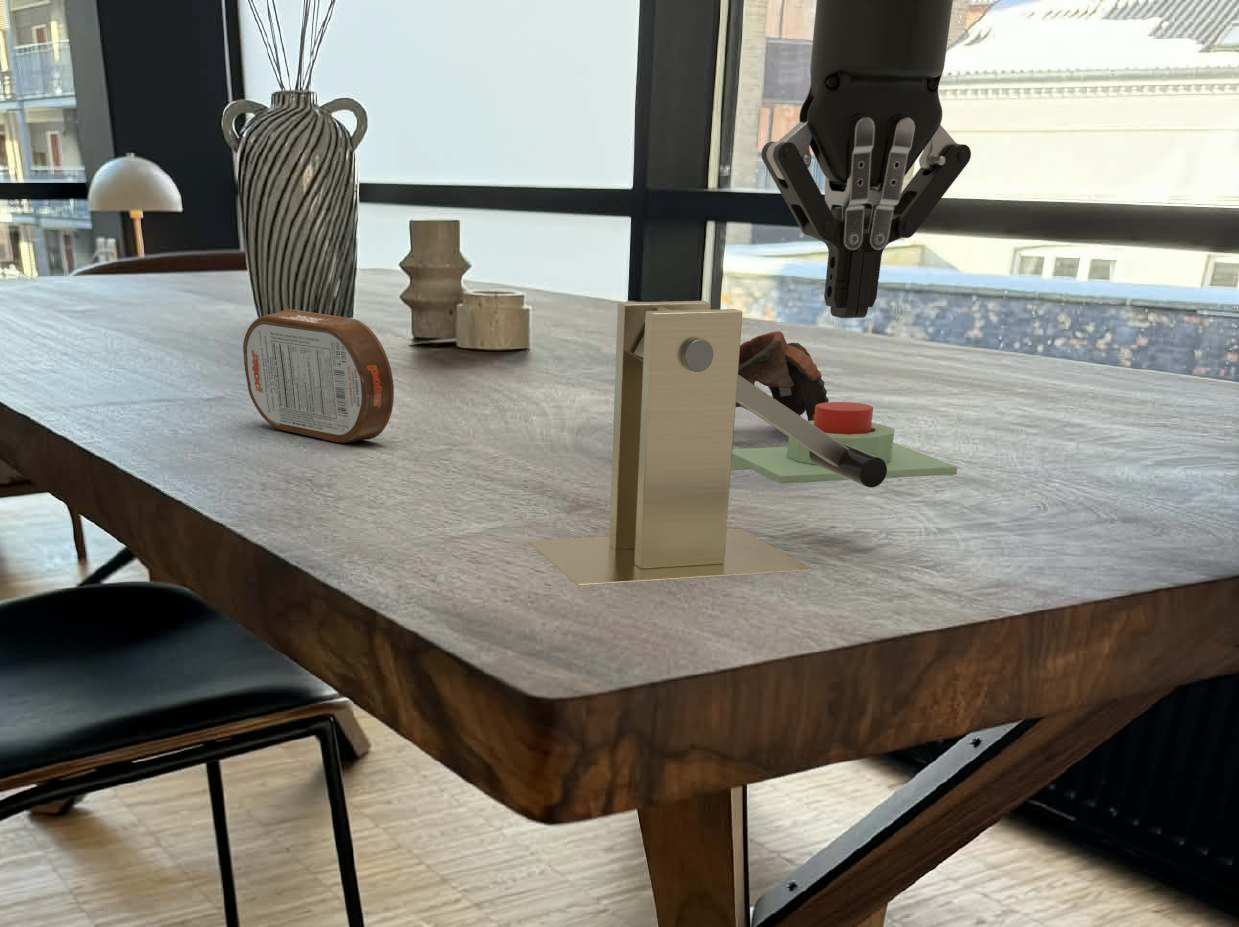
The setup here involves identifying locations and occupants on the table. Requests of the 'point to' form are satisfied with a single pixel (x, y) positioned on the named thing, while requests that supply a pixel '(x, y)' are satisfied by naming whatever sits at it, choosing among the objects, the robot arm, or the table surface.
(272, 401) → the tin
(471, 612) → the table surface
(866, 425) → the button
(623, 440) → the bracket
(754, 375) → the crumpled brown leather
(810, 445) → the lever
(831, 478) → the housing
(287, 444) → the table surface
